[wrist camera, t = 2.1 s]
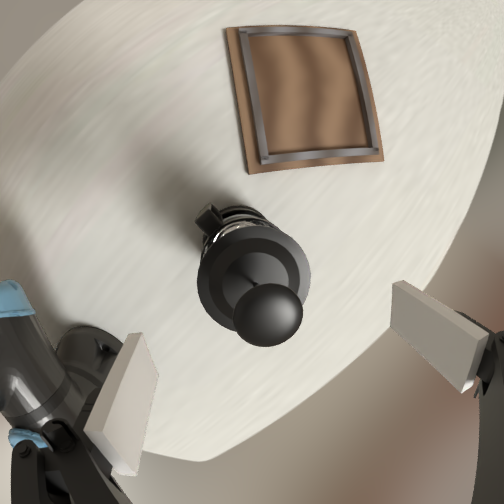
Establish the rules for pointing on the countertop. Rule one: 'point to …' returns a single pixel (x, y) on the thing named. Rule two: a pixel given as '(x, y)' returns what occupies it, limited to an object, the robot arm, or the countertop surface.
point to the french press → (251, 275)
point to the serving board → (303, 97)
